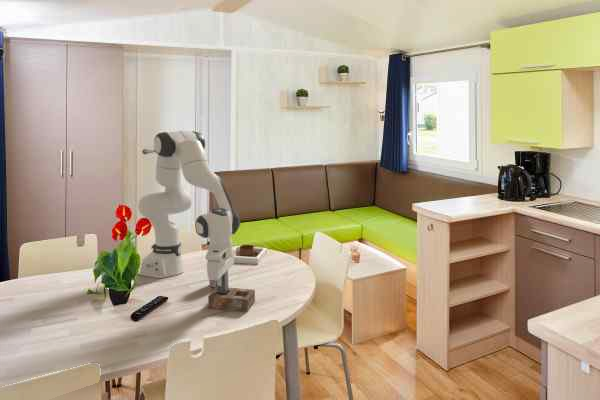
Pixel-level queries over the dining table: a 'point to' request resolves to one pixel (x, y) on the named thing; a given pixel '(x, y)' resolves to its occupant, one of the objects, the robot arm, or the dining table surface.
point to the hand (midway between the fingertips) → (222, 283)
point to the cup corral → (249, 259)
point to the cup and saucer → (247, 251)
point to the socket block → (232, 299)
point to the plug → (224, 286)
